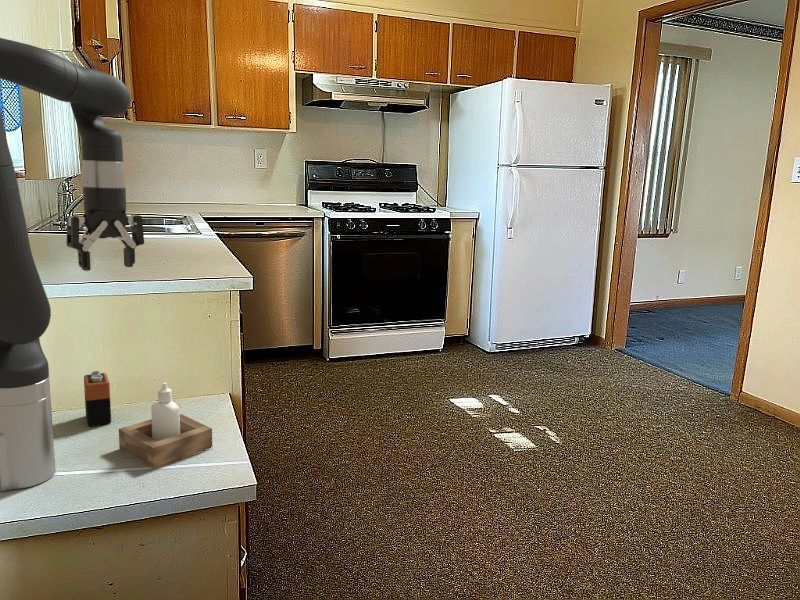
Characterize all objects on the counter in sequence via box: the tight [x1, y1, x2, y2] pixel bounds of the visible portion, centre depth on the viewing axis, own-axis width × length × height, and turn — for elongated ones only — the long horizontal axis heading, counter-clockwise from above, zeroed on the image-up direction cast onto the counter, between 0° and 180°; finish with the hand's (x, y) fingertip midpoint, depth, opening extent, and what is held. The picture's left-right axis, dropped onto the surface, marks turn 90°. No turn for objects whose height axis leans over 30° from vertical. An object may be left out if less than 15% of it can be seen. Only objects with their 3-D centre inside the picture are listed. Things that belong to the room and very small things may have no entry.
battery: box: [83, 370, 112, 427], centre depth 128 cm, size 4×7×10 cm, turn 30°
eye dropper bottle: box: [150, 382, 181, 441], centre depth 116 cm, size 4×6×12 cm
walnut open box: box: [118, 413, 213, 470], centre depth 117 cm, size 12×12×4 cm
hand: (108, 268), depth 122 cm, fingers open, 8 cm apart
